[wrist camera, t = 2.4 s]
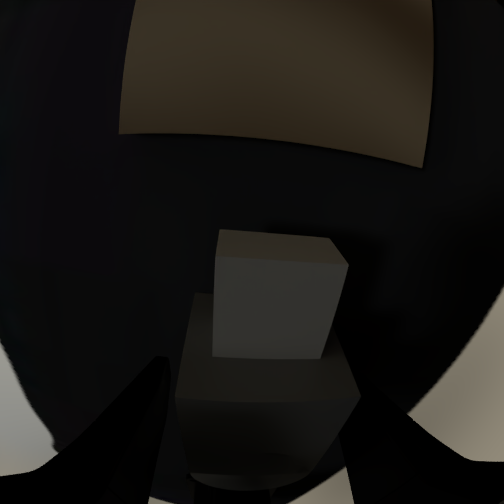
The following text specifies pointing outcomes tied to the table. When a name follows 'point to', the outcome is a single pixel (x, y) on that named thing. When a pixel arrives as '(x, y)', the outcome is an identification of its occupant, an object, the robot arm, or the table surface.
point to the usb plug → (264, 363)
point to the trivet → (284, 72)
